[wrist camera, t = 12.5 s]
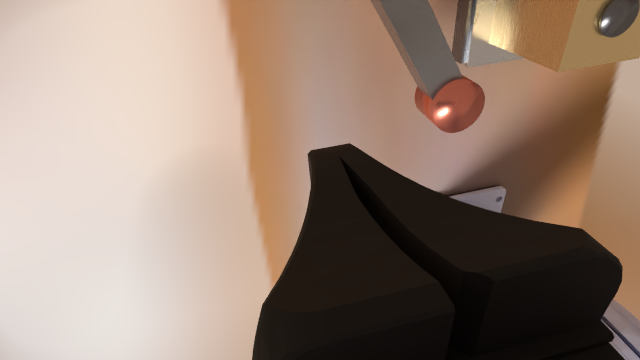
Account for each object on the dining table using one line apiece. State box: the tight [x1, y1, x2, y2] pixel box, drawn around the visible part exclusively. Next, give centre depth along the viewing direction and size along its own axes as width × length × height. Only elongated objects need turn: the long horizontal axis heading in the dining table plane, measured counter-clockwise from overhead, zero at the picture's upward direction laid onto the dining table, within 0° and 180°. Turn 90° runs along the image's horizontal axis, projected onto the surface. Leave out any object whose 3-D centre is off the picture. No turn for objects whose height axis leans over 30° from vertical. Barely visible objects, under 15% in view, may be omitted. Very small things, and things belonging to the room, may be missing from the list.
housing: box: [489, 0, 640, 72], centre depth 17 cm, size 4×4×5 cm
